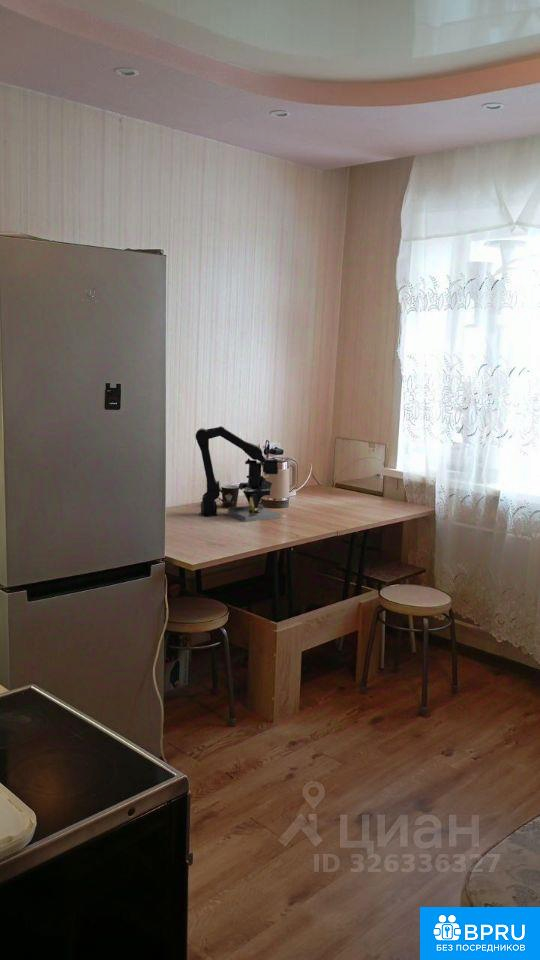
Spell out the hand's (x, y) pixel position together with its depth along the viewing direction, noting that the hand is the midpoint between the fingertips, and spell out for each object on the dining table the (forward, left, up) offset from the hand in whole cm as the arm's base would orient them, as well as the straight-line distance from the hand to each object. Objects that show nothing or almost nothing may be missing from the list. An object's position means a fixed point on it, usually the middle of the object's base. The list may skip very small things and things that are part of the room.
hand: (253, 507), depth 356 cm
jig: (0, 0, -4) cm, 4 cm away
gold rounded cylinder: (0, 0, -2) cm, 2 cm away
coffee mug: (-1, +23, -4) cm, 23 cm away
